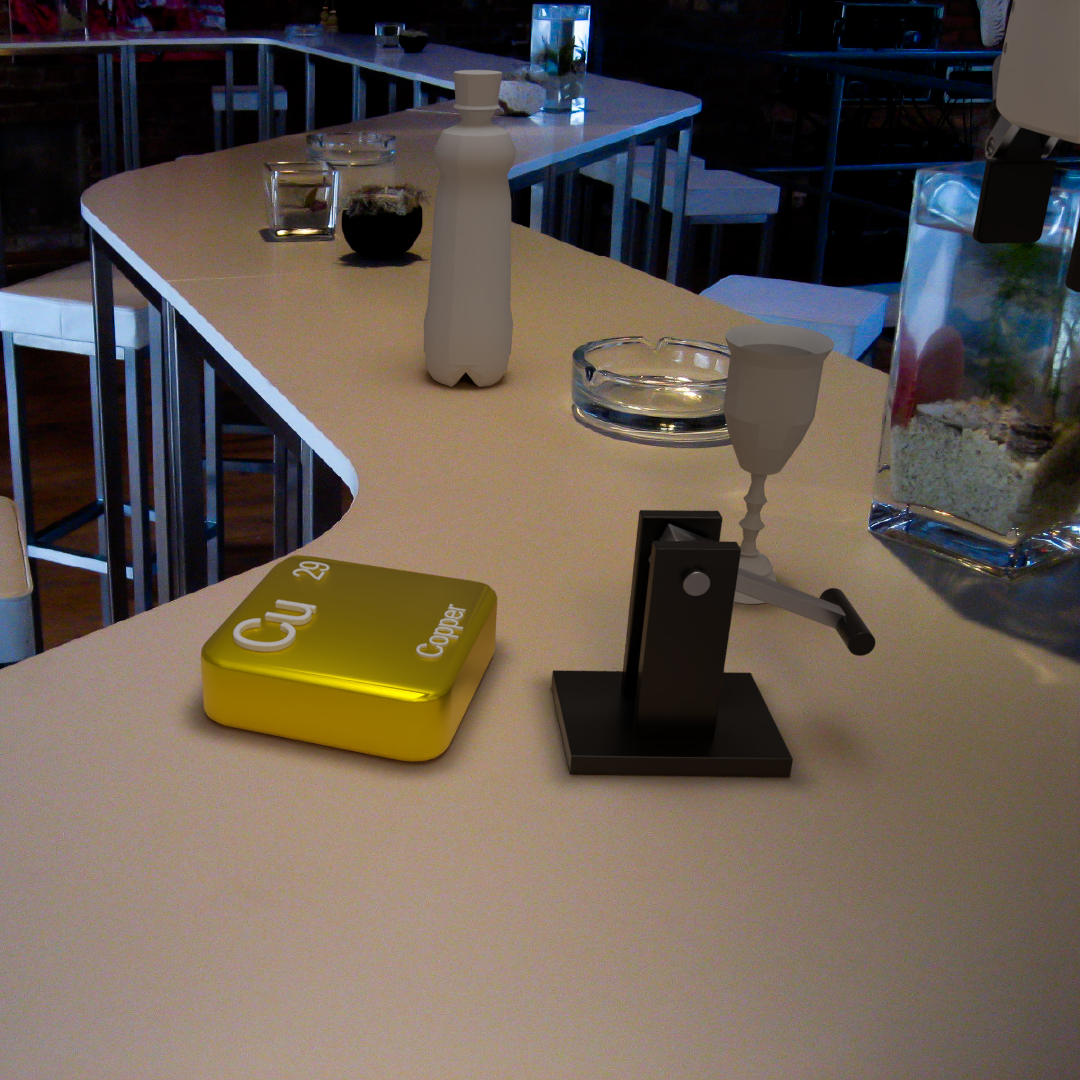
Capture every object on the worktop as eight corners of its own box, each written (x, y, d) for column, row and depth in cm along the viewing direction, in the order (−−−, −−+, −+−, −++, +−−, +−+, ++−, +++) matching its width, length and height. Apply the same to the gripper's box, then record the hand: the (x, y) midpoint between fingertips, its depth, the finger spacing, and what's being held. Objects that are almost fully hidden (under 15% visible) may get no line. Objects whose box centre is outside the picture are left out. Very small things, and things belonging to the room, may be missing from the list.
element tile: (439, 771, 69) (441, 697, 67) (191, 722, 74) (186, 651, 72) (501, 641, 82) (505, 576, 80) (287, 606, 87) (285, 543, 84)
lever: (831, 620, 73) (853, 585, 72) (861, 667, 68) (886, 631, 67) (642, 547, 71) (662, 511, 70) (660, 590, 66) (682, 552, 65)
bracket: (748, 689, 77) (778, 496, 71) (790, 777, 69) (827, 567, 63) (551, 686, 77) (565, 494, 72) (569, 774, 69) (587, 565, 64)
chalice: (800, 615, 85) (844, 358, 78) (697, 607, 86) (730, 353, 79) (784, 567, 92) (824, 326, 84) (689, 560, 93) (719, 321, 85)
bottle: (510, 392, 127) (527, 77, 115) (420, 389, 128) (426, 76, 115) (509, 365, 136) (525, 68, 123) (425, 362, 136) (432, 67, 124)
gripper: (1381, -170, 44) (1244, 312, 51) (1123, -141, 60) (1046, 226, 67) (1161, -165, 44) (1056, 314, 52) (962, -137, 60) (903, 228, 67)
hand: (1051, 264), depth 59 cm, fingers open, 9 cm apart
